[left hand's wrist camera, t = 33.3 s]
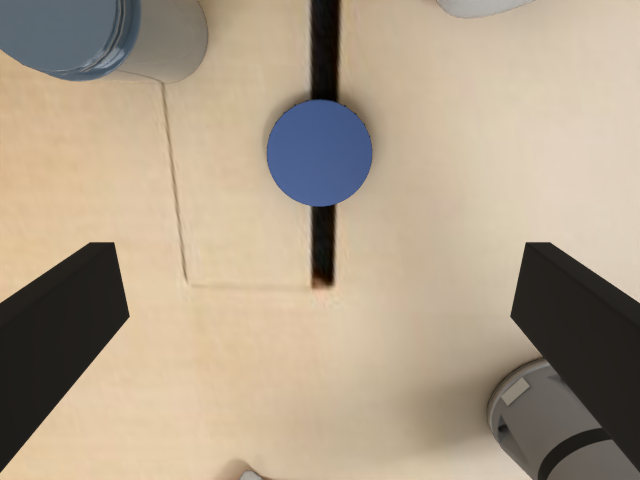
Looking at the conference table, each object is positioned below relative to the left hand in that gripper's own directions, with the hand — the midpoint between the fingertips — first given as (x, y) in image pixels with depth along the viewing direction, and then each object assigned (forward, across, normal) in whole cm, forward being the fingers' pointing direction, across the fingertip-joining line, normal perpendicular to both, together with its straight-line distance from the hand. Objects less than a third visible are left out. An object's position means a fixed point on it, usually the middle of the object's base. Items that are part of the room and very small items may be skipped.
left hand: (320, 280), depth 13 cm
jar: (+26, +14, -10) cm, 31 cm away
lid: (+24, 0, 0) cm, 24 cm away
